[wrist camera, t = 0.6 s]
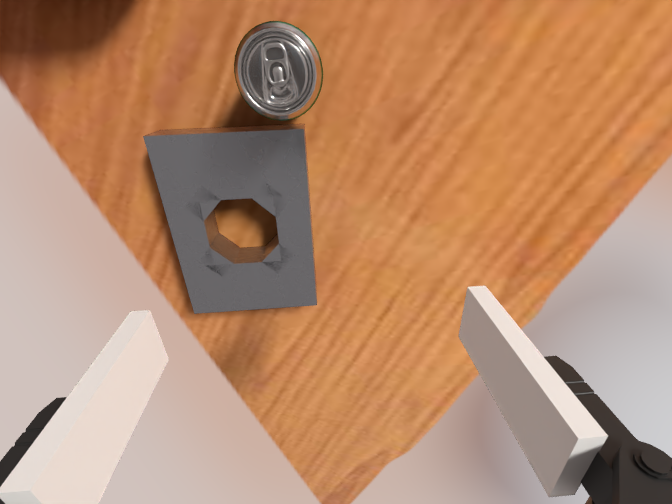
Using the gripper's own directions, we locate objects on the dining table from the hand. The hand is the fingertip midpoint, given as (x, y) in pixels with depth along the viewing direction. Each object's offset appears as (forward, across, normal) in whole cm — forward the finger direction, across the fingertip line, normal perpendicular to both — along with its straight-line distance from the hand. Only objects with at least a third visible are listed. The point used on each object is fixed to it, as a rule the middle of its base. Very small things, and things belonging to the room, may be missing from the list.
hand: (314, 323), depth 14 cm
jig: (+22, -7, -4) cm, 23 cm away
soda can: (+22, -1, +9) cm, 24 cm away
